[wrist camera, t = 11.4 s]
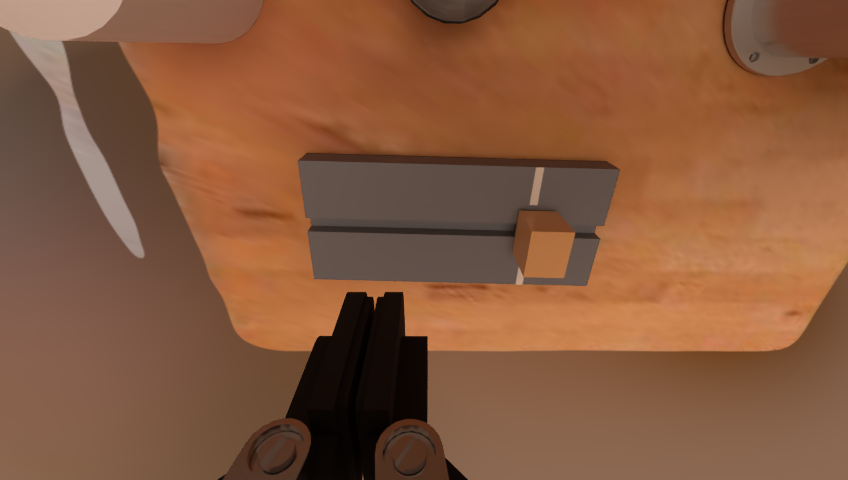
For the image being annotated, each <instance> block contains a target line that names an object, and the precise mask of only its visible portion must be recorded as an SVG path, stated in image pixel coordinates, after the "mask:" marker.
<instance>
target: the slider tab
mask: <svg viewBox="0 0 848 480" xmlns="http://www.w3.org/2000/svg"><path fill="white" fill-rule="evenodd" d="M574 236H575V232H574V230H573V229H572V228H571V227H570V226H569V224H568V223H567V222H566V221H565V220H564V219H563V217H562V216H561V215H560V214H559V213H558V211H524V210H519V215H518V221H517V227H516V233H515V239H514V245H513V251H512V252H513V255H514V257H515V259H516V261H517V264H518V266H519V268H520V271H521V273H522V275H523V277H536V278H564V276H565V272H566V268H567V264H568V260H569V256H570V252H571V248H572V244H573V240H574Z"/></svg>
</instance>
